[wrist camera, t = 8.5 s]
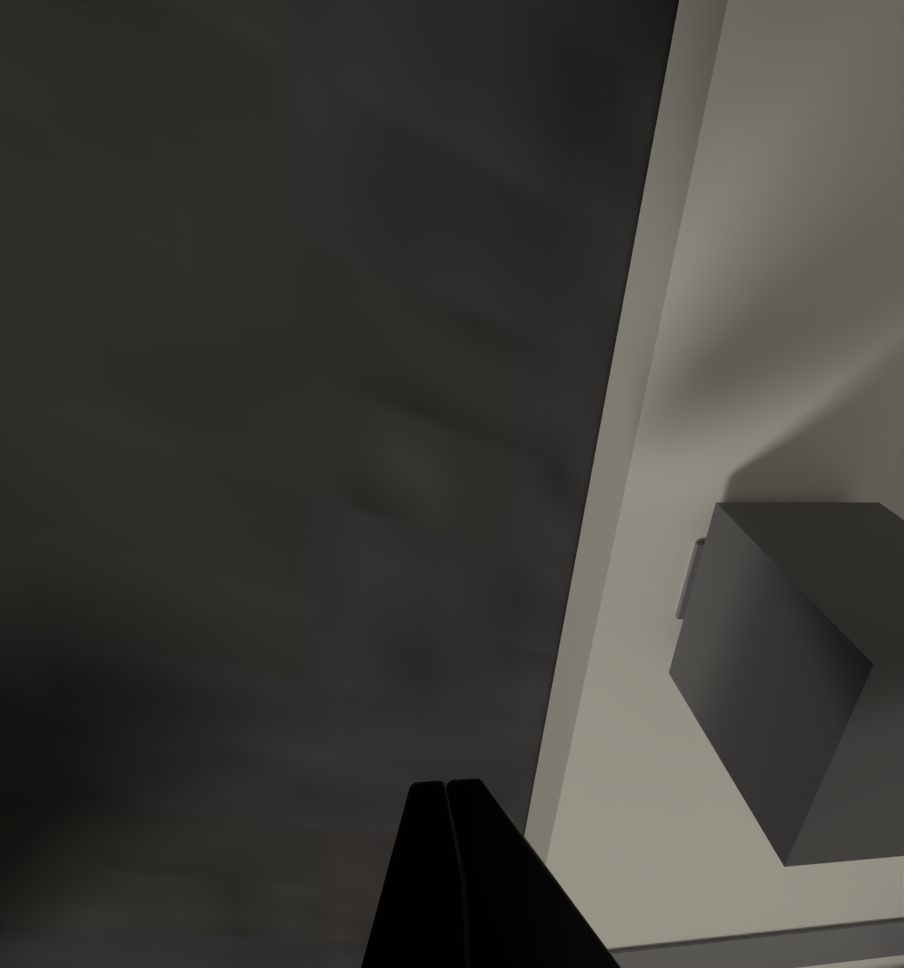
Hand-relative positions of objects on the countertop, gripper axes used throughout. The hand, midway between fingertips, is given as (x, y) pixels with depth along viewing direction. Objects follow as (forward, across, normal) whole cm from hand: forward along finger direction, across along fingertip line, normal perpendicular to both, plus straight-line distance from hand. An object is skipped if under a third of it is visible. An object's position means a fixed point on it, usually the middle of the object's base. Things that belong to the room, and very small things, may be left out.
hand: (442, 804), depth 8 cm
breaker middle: (+4, -6, 0) cm, 7 cm away
